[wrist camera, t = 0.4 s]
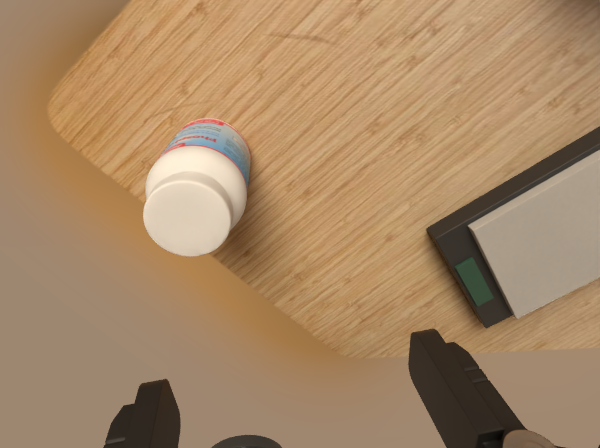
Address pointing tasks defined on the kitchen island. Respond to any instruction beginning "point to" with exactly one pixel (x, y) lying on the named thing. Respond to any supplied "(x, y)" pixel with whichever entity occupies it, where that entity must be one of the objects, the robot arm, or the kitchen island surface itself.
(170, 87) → the kitchen island surface
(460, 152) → the kitchen island surface
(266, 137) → the kitchen island surface
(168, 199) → the pill bottle
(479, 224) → the scale
